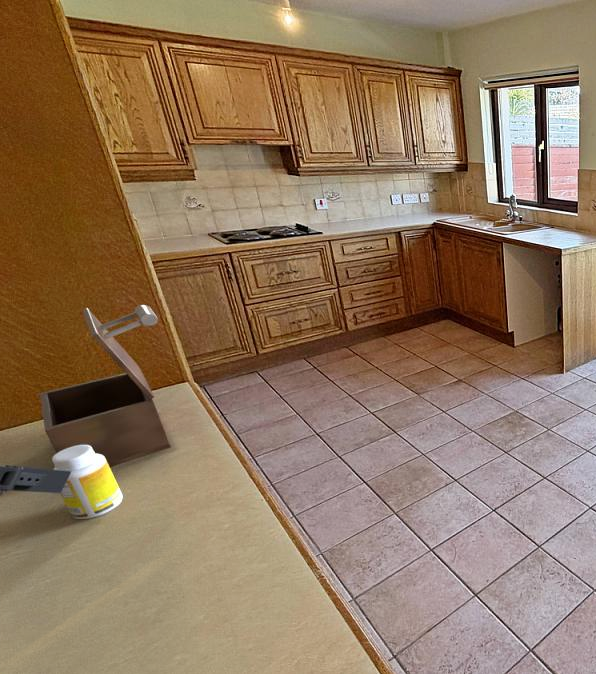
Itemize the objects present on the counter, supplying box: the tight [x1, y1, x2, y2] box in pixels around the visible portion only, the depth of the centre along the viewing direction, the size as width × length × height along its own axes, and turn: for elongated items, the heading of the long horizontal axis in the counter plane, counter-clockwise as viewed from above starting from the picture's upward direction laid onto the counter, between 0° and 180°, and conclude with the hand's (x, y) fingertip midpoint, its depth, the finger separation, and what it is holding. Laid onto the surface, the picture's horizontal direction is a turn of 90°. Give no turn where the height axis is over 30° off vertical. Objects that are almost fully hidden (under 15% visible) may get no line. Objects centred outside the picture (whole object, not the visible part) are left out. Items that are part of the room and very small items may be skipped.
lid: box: [82, 304, 159, 399], centre depth 84 cm, size 14×16×8 cm
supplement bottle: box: [51, 445, 123, 520], centre depth 70 cm, size 6×6×10 cm
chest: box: [39, 372, 172, 468], centre depth 83 cm, size 13×16×10 cm
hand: (16, 476), depth 61 cm, fingers open, 13 cm apart
